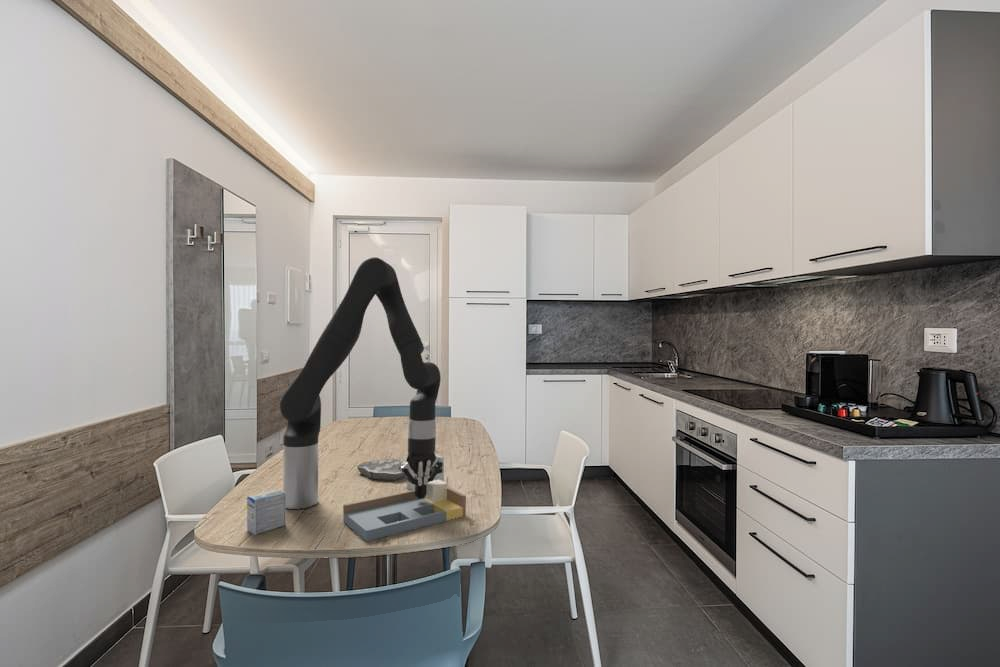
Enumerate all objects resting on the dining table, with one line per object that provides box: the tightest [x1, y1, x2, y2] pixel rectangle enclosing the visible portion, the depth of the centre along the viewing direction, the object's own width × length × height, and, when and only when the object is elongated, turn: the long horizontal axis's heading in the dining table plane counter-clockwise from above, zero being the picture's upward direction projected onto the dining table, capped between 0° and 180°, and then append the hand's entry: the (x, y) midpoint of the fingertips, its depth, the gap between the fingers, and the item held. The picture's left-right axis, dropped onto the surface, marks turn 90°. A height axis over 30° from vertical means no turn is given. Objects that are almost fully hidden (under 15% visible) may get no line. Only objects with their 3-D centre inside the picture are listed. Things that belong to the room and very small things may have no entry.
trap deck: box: [342, 486, 467, 542], centre depth 136 cm, size 15×28×6 cm, turn 127°
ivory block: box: [425, 479, 448, 502], centre depth 144 cm, size 4×4×4 cm
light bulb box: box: [406, 453, 445, 491], centre depth 160 cm, size 11×7×11 cm, turn 47°
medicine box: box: [246, 488, 287, 536], centre depth 129 cm, size 8×4×9 cm, turn 141°
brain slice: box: [356, 458, 406, 481], centre depth 177 cm, size 20×17×3 cm
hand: (420, 497), depth 142 cm, fingers closed
